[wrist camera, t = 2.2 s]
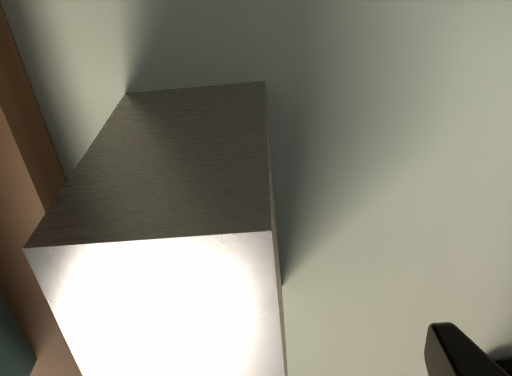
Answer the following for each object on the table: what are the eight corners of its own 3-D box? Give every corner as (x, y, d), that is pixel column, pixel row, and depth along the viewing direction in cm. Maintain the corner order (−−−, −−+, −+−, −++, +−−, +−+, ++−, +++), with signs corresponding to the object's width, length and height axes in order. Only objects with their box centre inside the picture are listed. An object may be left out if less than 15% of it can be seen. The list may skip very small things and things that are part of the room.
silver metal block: (264, 80, 11) (271, 230, 6) (281, 285, 15) (294, 482, 10) (125, 92, 11) (22, 248, 6) (176, 292, 15) (137, 488, 10)
